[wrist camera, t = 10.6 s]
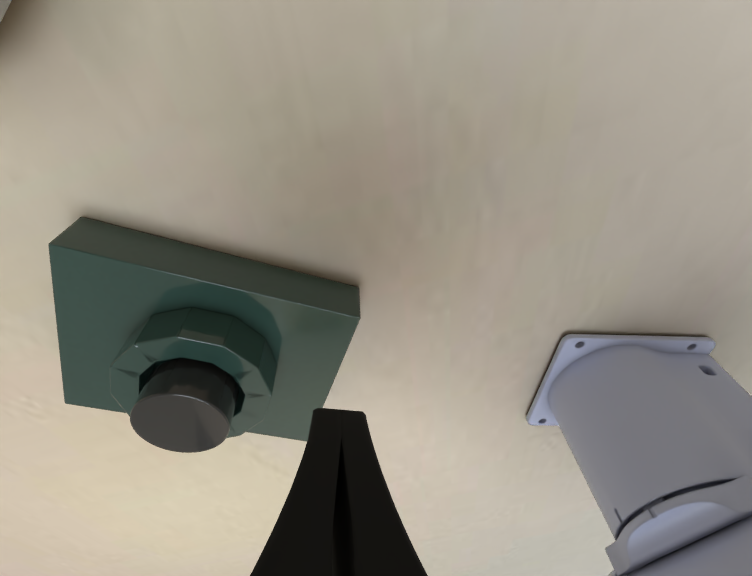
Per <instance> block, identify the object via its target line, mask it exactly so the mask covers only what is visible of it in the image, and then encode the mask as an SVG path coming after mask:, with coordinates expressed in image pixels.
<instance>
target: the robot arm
mask: <svg viewBox="0 0 752 576" xmlns="http://www.w3.org/2000/svg"><path fill="white" fill-rule="evenodd" d="M578 342H579V343H578ZM715 345H716V343H715V342H714V341H713V340H712V339H711V338H709V337H679V336H636V335H592V334H568V335H566V336H564V337H563V338H562V340H561V341H560V343H559V346H558V348H557V350H556V352H555V355H554V357H553V359H552V361H551V363H550V366H549V368H548V370H547V372H546V374H545V377H544V379H543V381H542V383H541V386H540V388H539V390H538V392H537V394H536V397H535V399H534V401H533V403H532V405H531V408H530V410H529V412H528V414H527V417H526V419H527V422H528V424H530V425H559V427H560V429H561V431H562V433H563V435H564V437H565V439H566V441H567V443H568V445H569V447H570V449H571V451H572V453H573V455H574V457H575V459H576V461H577V463H578V465H579V467H580V469H581V471H582V473H583V475H584V477H585V479H586V481H587V484H588V486H589V488H590V490H591V492H592V494H593V496H594V498H595V500H596V502H597V504H598V506H599V508H600V510H601V512H602V514H603V516H604V518H605V520H606V522H607V524H608V526H609V528H610V530H611V532H612V534H613V536H614V538H615V540H616V541H615V542H614V543H612V544H611V545H609V546H608V547H606V548H605V550H606V553H607V555H608V557H609V559H610V561H611V563H612V565H613V568H614V570H613V571H612V572H611V573H610V574H609V576H752V397H751V396H750V395H749V394H748V393H747V392H746V391H745V390H744V389H743V388H742V387H741V386H740V385H739V384H738V383H737V382H736V381H735V380H734V379H733V378H732V377H731V376H730V375H729V374H728V373H727V372H726V371H725V370H724V369H723V368H722V367H721V366H720V365H719V364H718V363H717V362H716V361H715V360H714V359H713V358H712V357H711V356H710V355H709V354H710V353H711V351H712V350H713V349H714V347H715ZM250 576H428V575H427V574H426V572H425V570H424V568H423V566H422V564H421V562H420V560H419V558H418V556H417V554H416V552H415V550H414V548H413V546H412V543H411V541H410V539H409V537H408V535H407V533H406V530H405V528H404V526H403V524H402V521H401V519H400V517H399V514H398V512H397V510H396V507H395V505H394V502H393V500H392V498H391V495H390V492H389V490H388V487H387V484H386V482H385V479H384V476H383V474H382V471H381V468H380V465H379V462H378V459H377V456H376V453H375V450H374V446H373V443H372V440H371V436H370V432H369V428H368V424H367V420H366V415H365V414H364V413H363V412H361V411H349V410H338V409H326V408H317V409H315V410H313V414H312V420H311V425H310V431H309V436H308V441H307V444H306V448H305V451H304V454H303V457H302V460H301V463H300V466H299V468H298V471H297V474H296V477H295V479H294V482H293V485H292V487H291V490H290V492H289V494H288V497H287V499H286V501H285V504H284V506H283V508H282V511H281V513H280V515H279V518H278V520H277V522H276V524H275V526H274V529H273V531H272V533H271V535H270V537H269V539H268V541H267V543H266V545H265V547H264V549H263V551H262V553H261V555H260V557H259V559H258V561H257V563H256V565H255V567H254V569H253V571H252V573H251V575H250Z"/></svg>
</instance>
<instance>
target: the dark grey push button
mask: <svg viewBox="0 0 752 576" xmlns="http://www.w3.org/2000/svg"><path fill="white" fill-rule="evenodd" d="M238 397H239V389H238V385H237V383H236V381H235V380H234V378H233V377H232V376H231V375H230V374H229V373H227V372H225V371H224V370H222V369H221V368H219V367H217V366H216V365H214V364H212V363H208V362H203V361H198V360H193V359H187V358H178V359H172V360H169V361H166V362H163V363H161V364H160V365H158V366H157V367H155V368H154V369H153V370H152V372H151V373H150V375H149V377H148V379H147V381H146V383H145V385H144V387H143V389H142V390H141V392H140V394H139V396H138V398H137V400H136V402H135V404H134V406H133V408H132V410H131V413H130V422H131V425H132V427H133V429H134V430H135V432H136V433H137V434H138V435H139V436H140V437H141V438H143V439H144V440H146V441H147V442H149V443H151V444H153V445H155V446H157V447H160V448H163V449H166V450H170V451H175V452H185V453H192V452H201V451H206V450H209V449H212V448H214V447H216V446H218V445H219V444H221V443H222V442H223V441H224V440H225V439H226V437H227V436H228V433H229V430H230V427H231V423H232V419H233V416H234V412H235V408H236V405H237V401H238Z"/></svg>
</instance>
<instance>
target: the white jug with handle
mask: <svg viewBox="0 0 752 576" xmlns="http://www.w3.org/2000/svg"><path fill="white" fill-rule="evenodd" d="M11 1H12V0H0V22H1V20H2V18H3V16H4V14H5V12H6V11H7V9H8V7H9V5H10V3H11Z"/></svg>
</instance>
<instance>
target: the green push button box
mask: <svg viewBox="0 0 752 576" xmlns="http://www.w3.org/2000/svg"><path fill="white" fill-rule="evenodd" d="M49 254H50V264H51V274H52V283H53V293H54V303H55V313H56V322H57V332H58V342H59V351H60V361H61V371H62V380H63V390H64V400H65V403H66V404H72V405H78V406H85V407H91V408H97V409H104V410H110V411H116V412H123V413H127V414H128V415H129V416H130V413H131V410H132V408H133V406H134V404H135V402H136V400H137V398H138V396H139V394H140V392H141V390H142V389H143V387H144V385H145V383H146V381H147V379H148V377H149V375H150V373H151V372H152V370H153V369H154V368H155V367H157V366H158V365H160V364H161V363H163V362H166V361H169V360H172V359H178V358H187V359H193V360H198V361H203V362H208V363H212V364H214V365H216V366H217V367H219V368H221V369H222V370H224V371H225V372H227V373H229V374H230V375H231V376H232V377H233V378H234V380H235V381H236V383H237V385H238V389H239V397H238V401H237V405H236V408H235V412H234V416H233V419H232V423H231V427H230V430H229V433H228V436H227V437H226V438H229V437H235V436H239V435H242V434H243V433H245V432H250V433H256V434H263V435H269V436H275V437H282V438H288V439H295V440H301V441H308V436H309V431H310V425H311V420H312V414H313V410H315V409H317V408H323V405H324V403H325V401H326V398H327V396H328V393H329V391H330V389H331V386H332V384H333V382H334V379H335V377H336V375H337V372H338V370H339V367H340V365H341V363H342V360H343V358H344V356H345V353H346V351H347V349H348V346H349V344H350V341H351V339H352V337H353V334H354V332H355V330H356V327H357V325H358V323H359V320H360V295H359V287H355V286H351V285H347V284H343V283H339V282H335V281H332V280H328V279H324V278H320V277H316V276H312V275H308V274H304V273H300V272H296V271H292V270H288V269H284V268H281V267H277V266H273V265H269V264H265V263H261V262H257V261H253V260H249V259H245V258H241V257H237V256H233V255H230V254H226V253H222V252H218V251H214V250H210V249H206V248H202V247H198V246H194V245H190V244H186V243H183V242H179V241H175V240H171V239H167V238H163V237H159V236H155V235H151V234H147V233H143V232H139V231H135V230H132V229H128V228H124V227H120V226H116V225H112V224H108V223H104V222H100V221H96V220H92V219H88V218H84V217H80V218H79V219H78V220H77V221H75V222H74V223H73V224H72V225H71V226H69V227H68V228H67V229H66V230H65V231H63V232H62V233H61V234H60V235H59V236H57V237H56V238H55V239H54V240H52V241H51V242H50V243H49Z"/></svg>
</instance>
